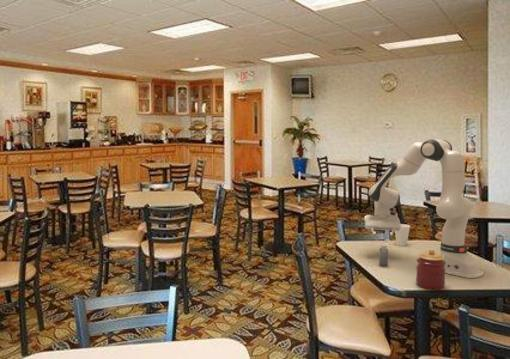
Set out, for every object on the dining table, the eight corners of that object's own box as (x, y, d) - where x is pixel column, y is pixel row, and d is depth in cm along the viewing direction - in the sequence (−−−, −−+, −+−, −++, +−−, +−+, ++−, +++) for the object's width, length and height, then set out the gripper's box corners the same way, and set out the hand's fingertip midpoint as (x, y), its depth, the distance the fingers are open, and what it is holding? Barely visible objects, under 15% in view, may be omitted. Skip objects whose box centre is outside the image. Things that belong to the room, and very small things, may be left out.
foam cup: (390, 244, 287) (391, 225, 285) (399, 242, 292) (400, 223, 291) (403, 247, 279) (404, 227, 278) (411, 245, 285) (412, 225, 283)
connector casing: (387, 267, 238) (388, 247, 236) (379, 266, 239) (380, 246, 237) (386, 263, 244) (387, 244, 243) (378, 262, 245) (379, 243, 244)
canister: (409, 282, 213) (411, 247, 211) (430, 279, 217) (432, 245, 216) (429, 291, 201) (430, 254, 199) (450, 288, 205) (452, 251, 204)
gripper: (364, 211, 259) (364, 231, 251) (400, 213, 255) (401, 233, 247) (363, 217, 264) (364, 237, 256) (399, 219, 260) (400, 239, 251)
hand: (382, 235), depth 251 cm, fingers open, 8 cm apart
